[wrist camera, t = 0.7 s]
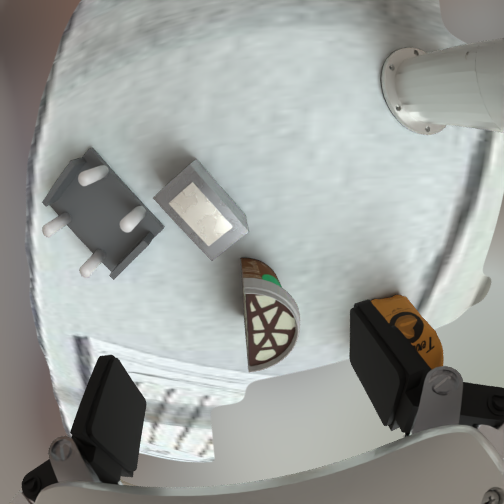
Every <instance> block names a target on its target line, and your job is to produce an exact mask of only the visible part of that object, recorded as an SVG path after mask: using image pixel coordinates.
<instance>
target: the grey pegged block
mask: <svg viewBox="0 0 504 504" xmlns="http://www.w3.org/2000/svg"><path fill="white" fill-rule="evenodd" d="M42 203H43V204H44V205H45V206H48V205H50V206H51V207H52V208H53V209H54V211H55V212H56V213H57V214H58V215H59V216H58V217H56V218H55V219H53V220H52V221H50V222H48V223H47V224H45V225H44V226H43V228H42V231H43V234H44V235H45V236H46V237H50V236H52V235H53V234H55V233H56V232H57V231H59V230H60V229H62V228H63V227H64V226H66V225H67V226H68V227H69V228H70V229H71V230H72V231H73V232H74V233H75V234H76V236H77V237H78V238H79V239H80V240H81V241H82V242H83V243H84V244H85V245H86V246H87V247H88V248H89V249H90V251H91V252H92V253H93V255H92V256H91V257H90V258H89V259H88V260H87V261H86V262H85V263H84V264H83V265H82V266H81V267H80V270H79V271H80V274H81V276H83V277H84V278H89V277H90V276H91V274H92V273H93V272H94V271H95V270H96V268H97V267H98V266H99V265H100V264H101V262H102V263H103V264H104V265H105V266H106V267H107V268H108V269H109V270H110V271H111V274H110V275H109V276H110V277H111V278H112V279H113V280H114V279H115V278H116V277H117V276H118V275H119V274H120V273H121V272H122V271H123V270H124V269H125V268H126V267H127V266H128V265H129V264H130V263H131V262H132V261H133V260H134V259H135V258H136V257H137V256H138V255H139V254H140V253H141V252H142V251H143V250H144V249H145V248H146V247H147V246H148V245H149V244H150V242H151V241H152V239H153V238H154V237H155V236H156V235H157V234H158V233H159V232H161V231H162V230H163V229H164V227H165V226H164V225H163V224H162V223H161V222H160V221H159V220H158V219H157V218H156V217H155V216H154V215H153V214H152V213H151V212H150V211H149V210H148V209H147V207H146V206H145V205H144V204H143V203H142V202H141V201H140V200H139V199H138V198H137V197H136V196H135V195H134V193H133V192H132V191H131V190H130V189H129V188H128V187H127V186H126V185H125V184H124V183H123V181H122V180H121V179H120V178H119V177H118V176H117V175H116V174H115V173H114V171H113V170H112V169H111V168H110V167H109V166H108V165H107V164H106V162H105V161H104V160H103V159H102V158H101V157H100V156H99V154H98V153H97V152H96V151H95V150H94V149H93V148H89V149H88V151H87V152H86V153H85V154H84V156H83V157H82V158H79V159H75V160H71V161H70V163H69V164H68V165H67V167H66V168H65V169H64V171H63V172H62V174H61V175H60V176H59V178H58V179H57V181H56V182H55V184H54V185H53V187H52V188H51V190H50V191H49V193H48V194H47V196H46V197H45V199H44V200H43V202H42Z"/></svg>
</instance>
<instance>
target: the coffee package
mask: <svg viewBox="0 0 504 504" xmlns="http://www.w3.org/2000/svg"><path fill="white" fill-rule="evenodd" d="M371 302H372V304H373V305H374V306H375V307H376V308H377V310H378V311H379V312H380V313H381V314H382V315H383V317H384V318H385V319H386V320H387V322H388V323H389V324H390V325H391V326H393V325H394V326H396V327H397V328H399V330H400V331H401V332H402V333H403V334H404V336H405V337H406V338H407V339H408V341H409V342H410V343H411V344H412V345H413V347H414V348H415V349H416V350H417V352H418V353H419V354H420V355H421V357H422V358H423V359H424V360H425V362H426V363H427V364H428V365H429V367H430V368H431V369H434V368H436V367H440V366H443V349H442V345H441V342H440V340H439V338H438V336H437V333H436V331H435V330H434V329H433V328H432V327H431V326H430V325H429V324H428V322H427V321H426V320H425V319H424V318H423V317H422V316H421V315H420V314H419V312H418V311H417V310H416V309H415V307H414V306H413V305H412V304H411V302H410V301H409V300H408V298H407V297H404V296H402V295H394V296H393V297H391V298H384V299H374V300H371Z"/></svg>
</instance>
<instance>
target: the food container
mask: <svg viewBox="0 0 504 504" xmlns="http://www.w3.org/2000/svg"><path fill="white" fill-rule="evenodd" d="M241 271H242V290H243V308H244V323H245V335H246V347H247V358H248V370H249V372H256V371H260V370H264V369H267V368H269V367H272V366H274V365H276V364H277V363H279V362H280V361H282V360H283V359H284V358H285V357H287V356H288V354H289V353H290V352H291V351H292V349H293V348H294V346H295V344H296V342H297V339H298V336H299V332H300V313H299V309H298V306H297V304H296V302H295V300H294V299H293V298H292V296H291V295H290V294H289V293H288V292H287V291H286V290H284V289H283V288H282V286H281V284H280V282H279V280H278V278H277V276H276V274H275V273H274V271H273V270H272V269H271V268H270V267H269V266H268V265H266V264H265V263H263V262H261V261H259V260H256V259H251V258H241Z"/></svg>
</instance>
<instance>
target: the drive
mask: <svg viewBox="0 0 504 504" xmlns="http://www.w3.org/2000/svg"><path fill="white" fill-rule="evenodd" d="M153 199H154V200H155V201H156V202H157V203H158V204H159V205H160V206H161V207H162V209H163V210H164V211H165V212H166V213H167V214H168V215H169V216H170V217H171V218H172V219H173V220H174V221H175V223H176V224H177V225H178V226H179V227H180V228H181V229H182V230H183V231H184V232H185V233H186V234H187V235H188V236H189V237H190V239H191V240H192V241H193V242H194V243H195V244H196V245H197V246H198V247H199V248H200V249H201V250H202V251H203V252H204V253H205V254H206V255H207V256H208V257H209V258H210V260H211V261H213V260H214V259H215V258H216V257H218V256H219V255H220V254H221V253H223V252H224V251H225V250H227V249H228V248H229V247H230V246H232V245H233V244H234V243H235V242H237V241H238V240H239V239H241V238H242V237H243V236H244V235H246V234H247V233H248V232H249V230H248V224H247V219H246V215H245V214H244V213H243V212H242V210H241V209H240V208H239V207H238V206H237V205H236V203H235V202H234V201H233V200H232V199H231V198H230V196H229V195H228V194H227V193H226V192H225V191H224V190H223V188H222V187H221V186H220V185H219V184H218V183H217V181H216V180H215V179H214V178H213V177H212V176H211V175H210V173H209V172H208V171H207V170H206V169H205V168H204V167H203V165H202V164H201V163H200V162H199V161H198V160H197V159H196V160H195V161H193V162H192V163H191V164H189V165H188V166H187V167H186V168H185V169H184V170H183V171H181V172H180V173H179V174H178V175H177V176H176V177H175V178H174V179H173V180H171V181H170V182H169V183H168V184H167V185H166V186H165V187H164V188H163V189H162V190H161V191H160V192H159V193H158V194H157V195H155V196H154V197H153Z"/></svg>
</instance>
